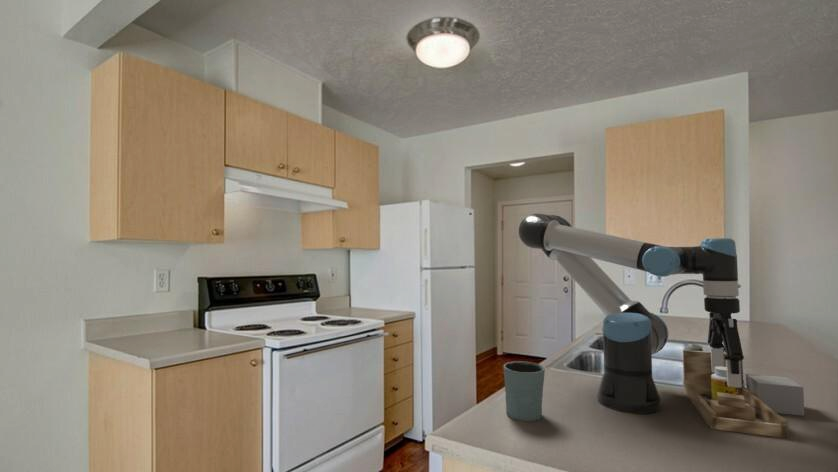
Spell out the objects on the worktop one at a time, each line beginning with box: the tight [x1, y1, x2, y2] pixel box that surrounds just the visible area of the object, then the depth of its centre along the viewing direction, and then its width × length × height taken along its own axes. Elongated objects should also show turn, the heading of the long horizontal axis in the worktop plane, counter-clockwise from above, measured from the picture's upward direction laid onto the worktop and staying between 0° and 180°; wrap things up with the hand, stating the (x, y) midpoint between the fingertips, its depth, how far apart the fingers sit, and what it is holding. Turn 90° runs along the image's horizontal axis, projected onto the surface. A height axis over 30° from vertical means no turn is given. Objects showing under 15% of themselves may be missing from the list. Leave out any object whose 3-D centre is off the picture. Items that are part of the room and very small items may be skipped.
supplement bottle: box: [711, 366, 738, 401], centre depth 109 cm, size 6×6×10 cm
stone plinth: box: [745, 373, 805, 416], centre depth 109 cm, size 9×9×7 cm
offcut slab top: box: [709, 399, 757, 421], centre depth 98 cm, size 8×4×2 cm, turn 69°
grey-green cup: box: [503, 361, 546, 422], centre depth 105 cm, size 10×10×12 cm
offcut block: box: [717, 392, 745, 408], centre depth 99 cm, size 5×3×2 cm, turn 57°
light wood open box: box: [682, 349, 788, 439], centre depth 107 cm, size 14×28×12 cm, turn 159°
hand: (725, 379), depth 109 cm, fingers open, 13 cm apart
